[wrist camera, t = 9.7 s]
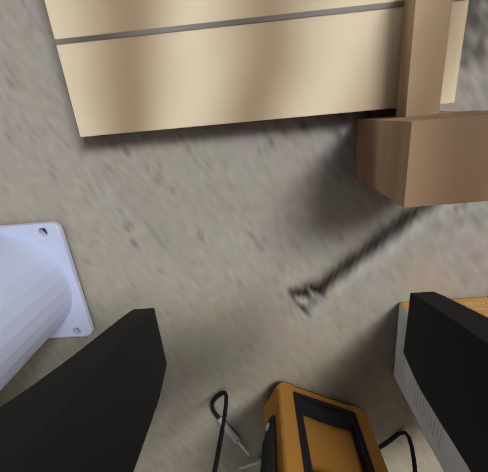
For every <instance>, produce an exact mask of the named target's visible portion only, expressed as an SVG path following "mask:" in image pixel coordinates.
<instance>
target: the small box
mask: <svg viewBox="0 0 488 472" xmlns="http://www.w3.org/2000/svg"><path fill="white" fill-rule="evenodd" d="M452 300H454V301H456V302H458V303H460V304H462V305H464V306H466V307H468V308H470V309H472V310H474V311H476V312H478V313H480V314H482V315H484V316H486V317H488V297H478V298H465V299H452ZM408 309H409V302H402V303H400V304H399V314H398V327H397V340H396V350H395V365H394V377H395V380H396V382H397V384H398V386H399V387H400V389H401V391H402V393H403V395H404V397H405V399H406V401H407V403H408V405H409V407H410V409H411V410H412V412H413V414H414V416H415V418H416V420H417V422H418V424H419V426H420V428H421V430H422V431H423V433H424V435H425V437H426V439H427V441H428V443H429V445H430V446H431V448H432V450H433V452H434V454H435V456H436V457H437V459H438V461H439V463H440V465H441V467H442V469H443V471H444V472H471V471H470V470H469V468H468V466H467V465H466V463H465V462H464V460H463V458H462V457H461V455H460V454H459V452H458V450H457V449H456V447H455V445H454V444H453V442H452V441H451V439H450V437H449V436H448V434H447V433H446V431H445V429H444V428H443V426H442V424H441V423H440V421H439V420H438V418H437V416H436V415H435V413H434V411H433V410H432V408H431V406H430V405H429V403H428V402H427V400H426V398H425V397H424V395H423V393H422V391H421V390H420V388H419V386H418V384H417V382H416V380H415V378H414V376H413V373H412V371H411V369H410V367H409V365H408V362H407V360H406V358H405V355H404V353H403V350H404V342H405V334H406V326H407V317H408Z"/></svg>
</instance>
